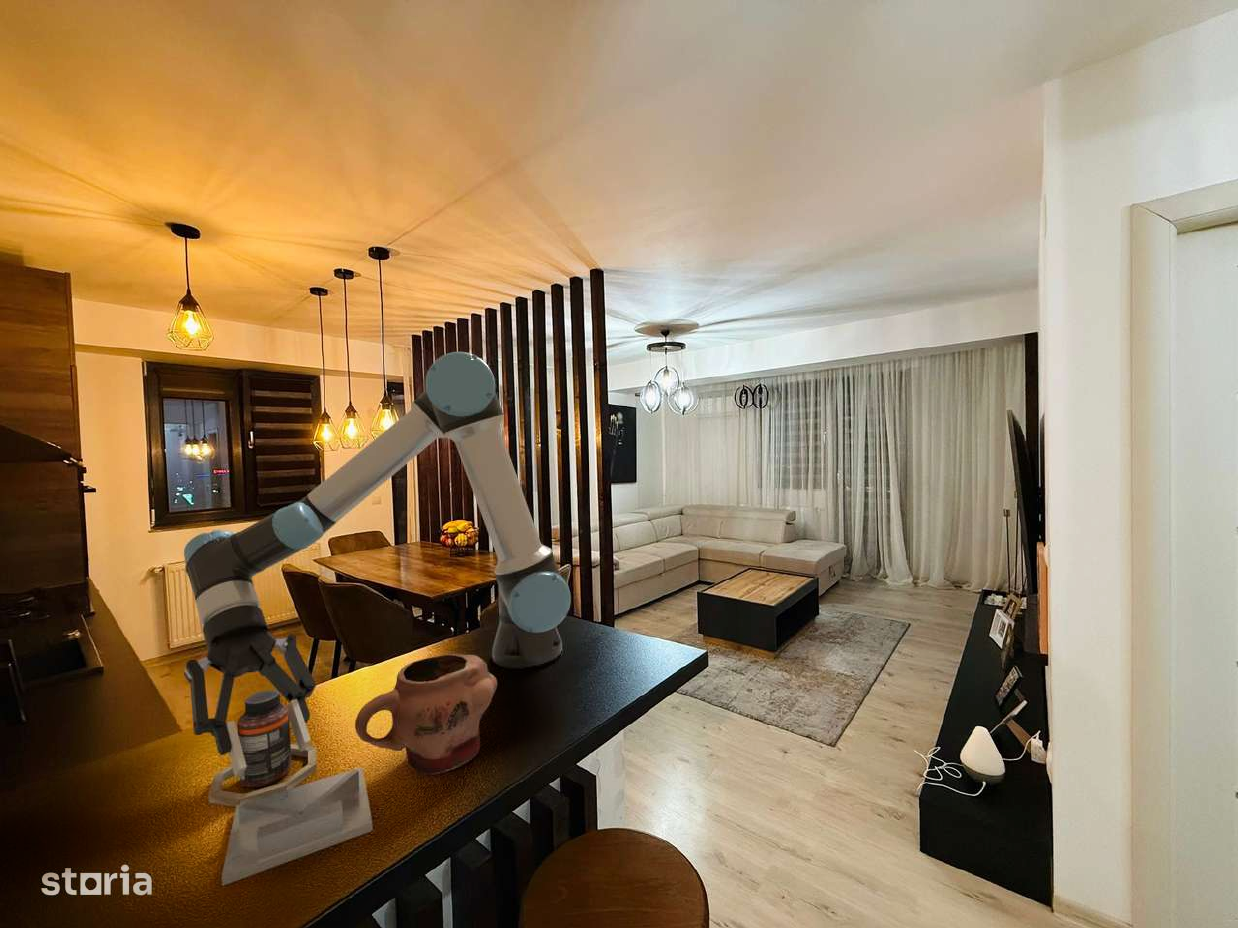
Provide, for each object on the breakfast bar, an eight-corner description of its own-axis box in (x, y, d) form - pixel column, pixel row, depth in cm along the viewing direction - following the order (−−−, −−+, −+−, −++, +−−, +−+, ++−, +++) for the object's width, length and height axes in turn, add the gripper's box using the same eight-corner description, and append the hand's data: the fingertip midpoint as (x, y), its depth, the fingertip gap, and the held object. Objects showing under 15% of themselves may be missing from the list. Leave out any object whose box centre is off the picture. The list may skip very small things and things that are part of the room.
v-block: (236, 813, 63) (235, 785, 63) (362, 773, 71) (361, 748, 71) (222, 885, 52) (220, 851, 52) (372, 830, 60) (371, 800, 60)
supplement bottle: (261, 763, 74) (258, 686, 74) (301, 763, 74) (298, 685, 74) (228, 790, 68) (225, 706, 68) (271, 790, 68) (268, 705, 68)
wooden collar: (315, 742, 79) (315, 736, 79) (317, 783, 69) (316, 775, 69) (218, 769, 73) (218, 762, 73) (203, 818, 63) (203, 810, 63)
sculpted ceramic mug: (381, 819, 61) (376, 704, 61) (342, 779, 70) (338, 678, 69) (516, 746, 76) (513, 654, 76) (471, 720, 84) (469, 637, 84)
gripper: (298, 615, 88) (343, 739, 78) (143, 651, 73) (175, 811, 63) (309, 589, 85) (358, 714, 75) (149, 621, 69) (184, 784, 59)
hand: (274, 758), depth 69 cm, fingers open, 7 cm apart
